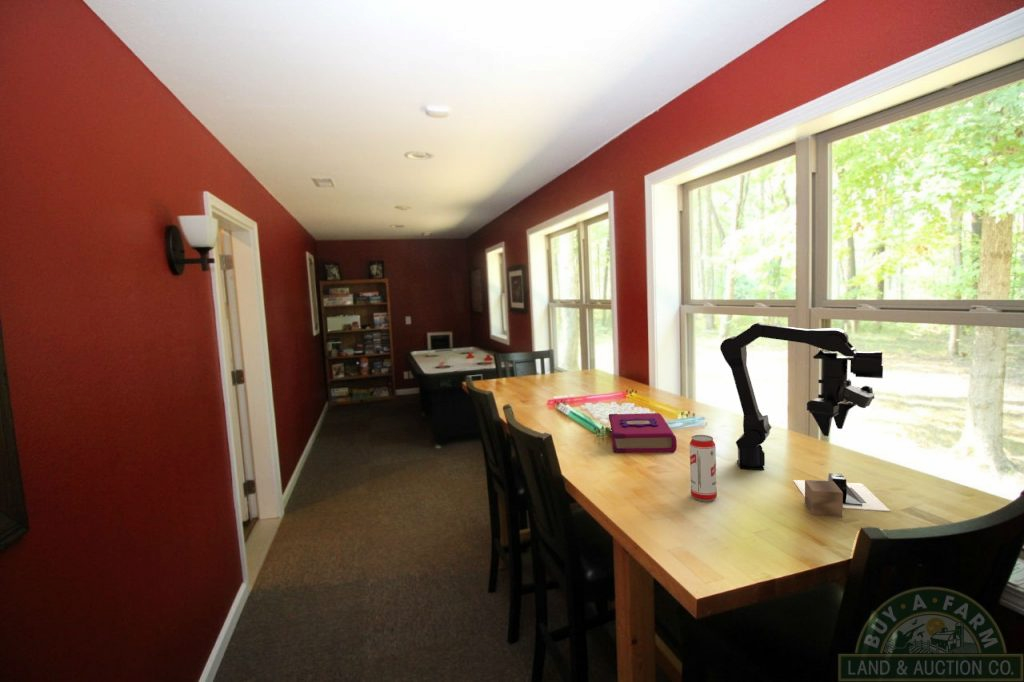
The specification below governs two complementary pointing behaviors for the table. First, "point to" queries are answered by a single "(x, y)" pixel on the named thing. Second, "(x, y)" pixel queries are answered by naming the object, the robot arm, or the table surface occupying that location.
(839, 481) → the black stand
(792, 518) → the table surface
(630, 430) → the book
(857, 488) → the letter tile
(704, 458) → the beer can
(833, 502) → the cube
